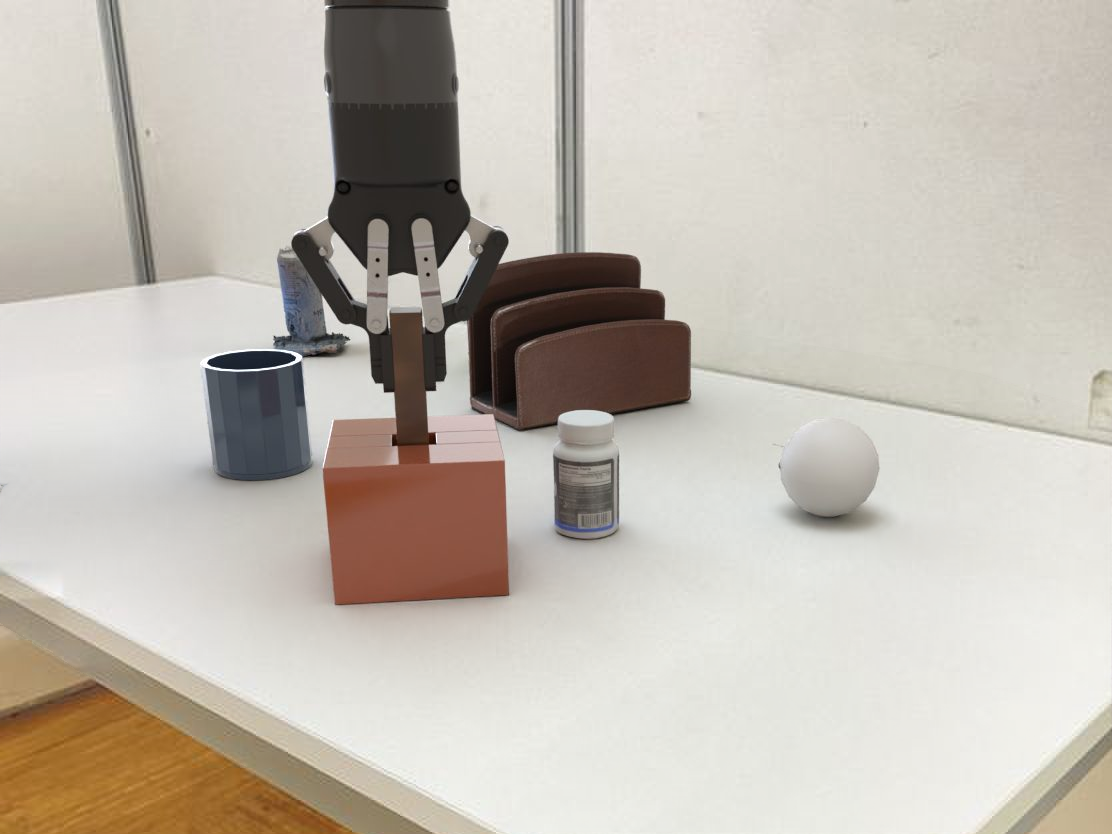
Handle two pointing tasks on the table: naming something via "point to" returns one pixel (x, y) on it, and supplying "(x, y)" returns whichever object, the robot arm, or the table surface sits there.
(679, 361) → the letter holder
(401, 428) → the stick
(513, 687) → the table surface
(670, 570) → the table surface
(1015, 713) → the table surface
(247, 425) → the cup
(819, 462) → the white ball
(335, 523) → the tissue box
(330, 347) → the beverage can
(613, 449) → the pill bottle
